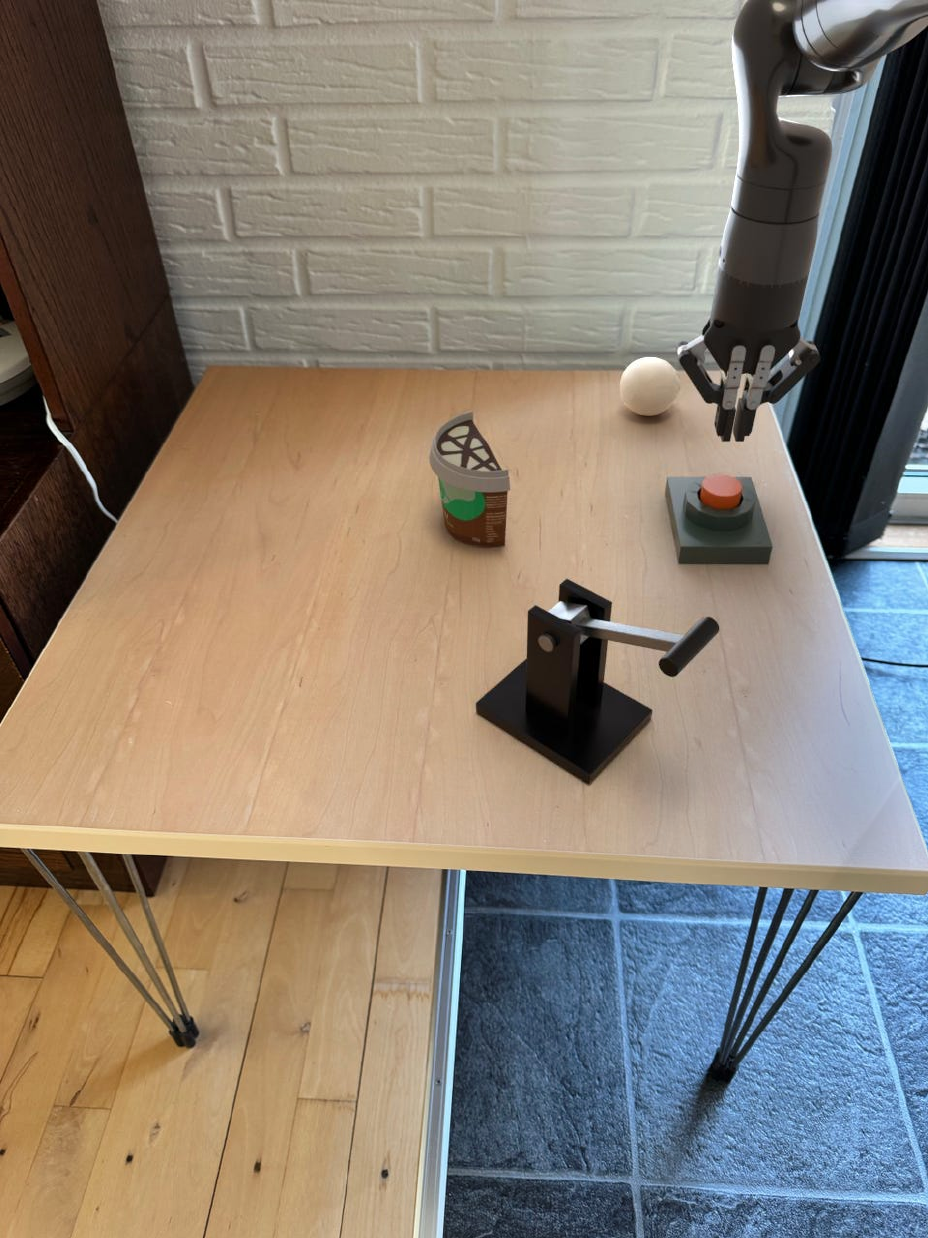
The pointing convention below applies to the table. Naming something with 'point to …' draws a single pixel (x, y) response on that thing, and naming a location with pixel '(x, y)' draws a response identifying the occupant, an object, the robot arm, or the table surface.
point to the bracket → (566, 693)
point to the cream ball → (649, 386)
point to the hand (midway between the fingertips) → (731, 437)
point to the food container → (470, 483)
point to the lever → (642, 635)
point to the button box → (716, 525)
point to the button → (721, 492)
